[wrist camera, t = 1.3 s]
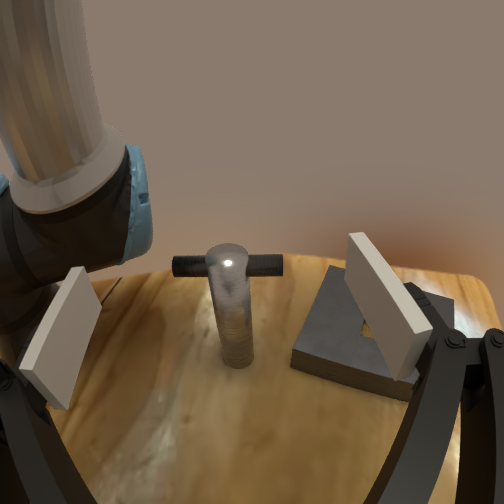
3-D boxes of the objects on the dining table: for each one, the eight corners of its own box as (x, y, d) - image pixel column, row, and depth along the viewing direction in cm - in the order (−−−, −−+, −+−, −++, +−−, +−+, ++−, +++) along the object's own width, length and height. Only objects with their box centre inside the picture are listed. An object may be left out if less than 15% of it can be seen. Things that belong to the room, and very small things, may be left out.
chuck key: (198, 367, 33) (168, 271, 24) (202, 343, 36) (176, 244, 26) (278, 368, 33) (284, 270, 23) (277, 343, 35) (281, 242, 26)
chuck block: (290, 367, 33) (292, 348, 30) (325, 286, 42) (329, 264, 40) (434, 407, 26) (450, 392, 24) (442, 319, 36) (453, 299, 33)
